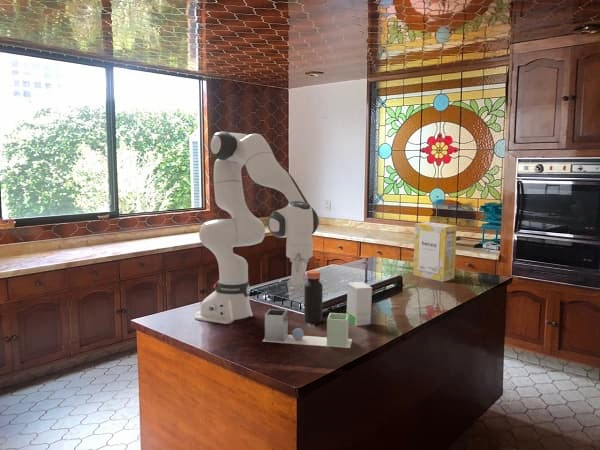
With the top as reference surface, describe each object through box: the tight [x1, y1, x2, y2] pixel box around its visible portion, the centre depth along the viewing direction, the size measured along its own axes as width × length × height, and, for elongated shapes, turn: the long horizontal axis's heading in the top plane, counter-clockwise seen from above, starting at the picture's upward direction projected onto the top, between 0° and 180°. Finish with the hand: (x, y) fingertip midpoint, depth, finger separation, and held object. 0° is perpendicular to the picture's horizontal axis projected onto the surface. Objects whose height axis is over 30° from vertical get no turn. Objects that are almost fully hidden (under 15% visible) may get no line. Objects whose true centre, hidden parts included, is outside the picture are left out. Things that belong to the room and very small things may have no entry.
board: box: [262, 334, 353, 349], centre depth 160 cm, size 30×8×1 cm, turn 79°
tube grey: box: [264, 308, 289, 343], centre depth 162 cm, size 6×6×9 cm
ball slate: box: [291, 327, 305, 340], centre depth 161 cm, size 4×4×4 cm
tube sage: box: [326, 312, 349, 348], centre depth 158 cm, size 6×6×9 cm
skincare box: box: [345, 281, 373, 327], centre depth 178 cm, size 8×7×16 cm
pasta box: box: [412, 221, 458, 283], centre depth 249 cm, size 18×10×28 cm, turn 41°
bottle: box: [303, 270, 324, 324], centre depth 179 cm, size 7×7×20 cm
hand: (299, 291), depth 159 cm, fingers open, 8 cm apart
